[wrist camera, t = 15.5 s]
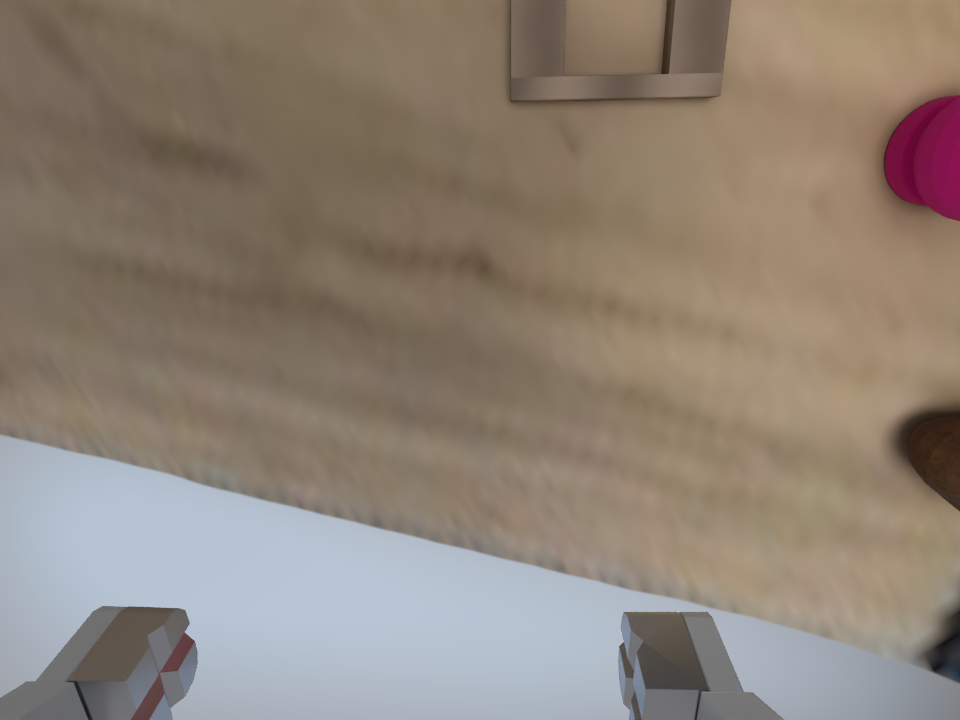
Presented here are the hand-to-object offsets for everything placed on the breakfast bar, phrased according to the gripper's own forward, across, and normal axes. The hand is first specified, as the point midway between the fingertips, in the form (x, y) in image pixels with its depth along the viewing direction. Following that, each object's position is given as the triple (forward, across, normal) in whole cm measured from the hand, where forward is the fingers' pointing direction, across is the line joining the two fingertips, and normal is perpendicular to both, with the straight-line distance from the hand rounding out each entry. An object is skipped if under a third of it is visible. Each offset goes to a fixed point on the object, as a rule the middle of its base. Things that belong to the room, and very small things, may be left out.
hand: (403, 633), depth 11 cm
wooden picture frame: (+32, -8, -14) cm, 36 cm away
